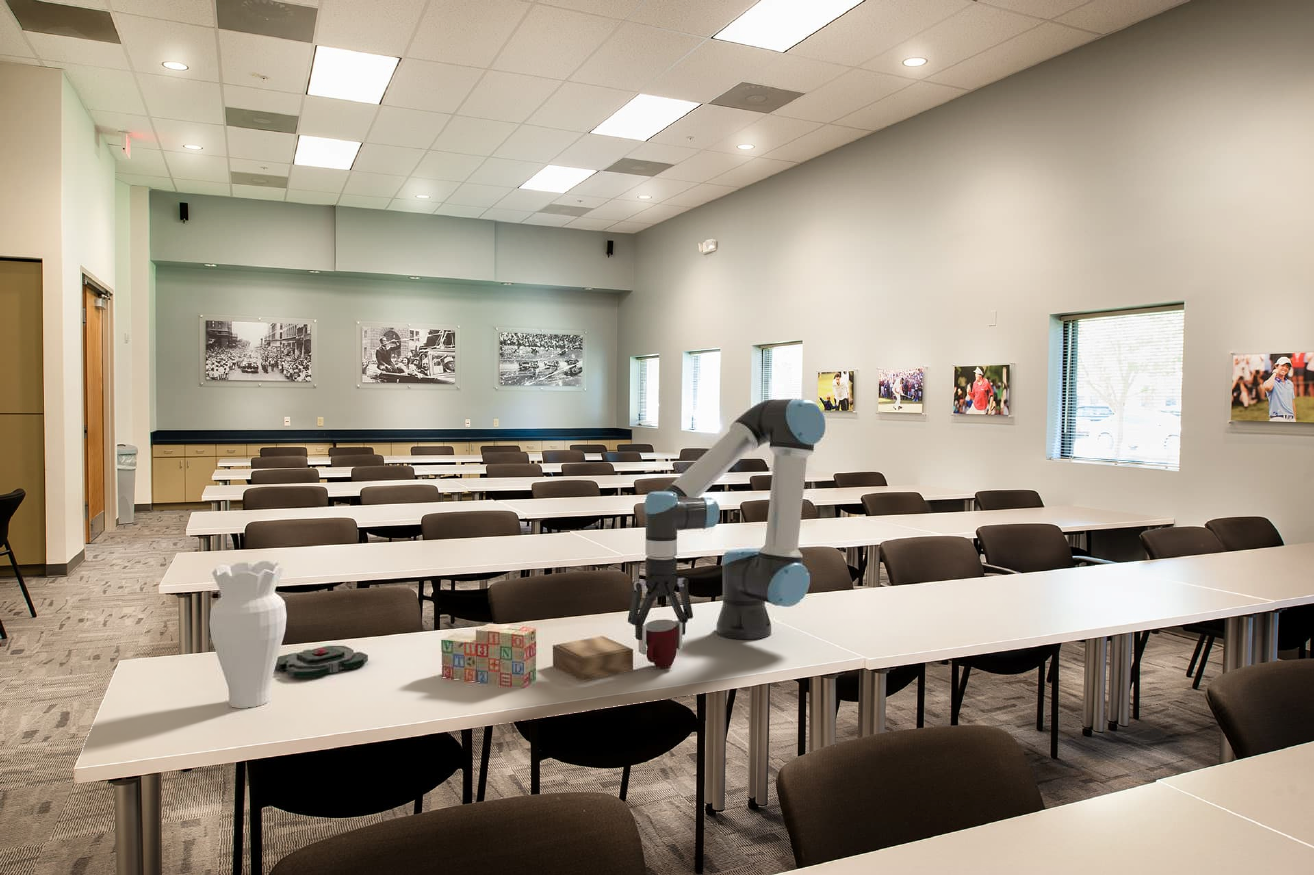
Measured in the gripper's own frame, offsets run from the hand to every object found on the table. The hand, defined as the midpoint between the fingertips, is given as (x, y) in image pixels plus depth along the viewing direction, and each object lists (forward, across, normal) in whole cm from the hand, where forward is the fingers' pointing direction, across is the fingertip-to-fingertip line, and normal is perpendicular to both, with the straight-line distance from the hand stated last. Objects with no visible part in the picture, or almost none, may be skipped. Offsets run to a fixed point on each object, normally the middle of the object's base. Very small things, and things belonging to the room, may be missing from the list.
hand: (660, 650), depth 201 cm
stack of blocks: (+5, +39, -9) cm, 41 cm away
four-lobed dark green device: (+6, +74, -36) cm, 82 cm away
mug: (+4, 0, 0) cm, 4 cm away
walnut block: (+4, +15, -7) cm, 17 cm away
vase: (+5, +89, -16) cm, 90 cm away
